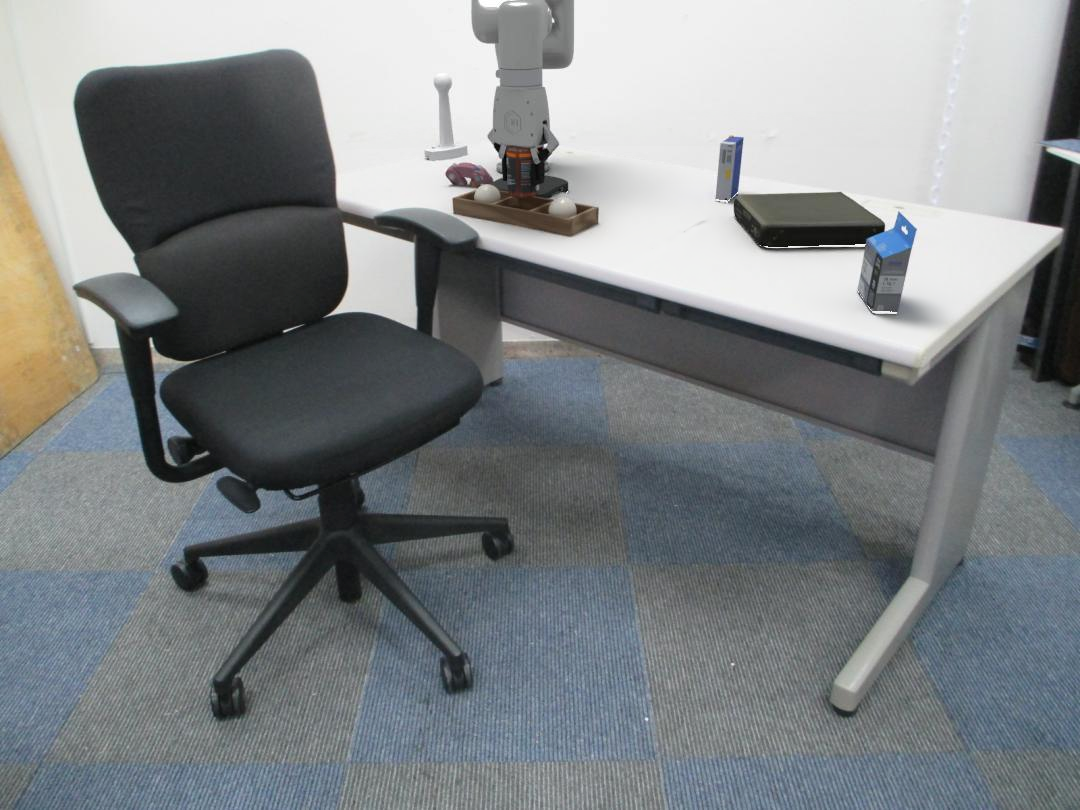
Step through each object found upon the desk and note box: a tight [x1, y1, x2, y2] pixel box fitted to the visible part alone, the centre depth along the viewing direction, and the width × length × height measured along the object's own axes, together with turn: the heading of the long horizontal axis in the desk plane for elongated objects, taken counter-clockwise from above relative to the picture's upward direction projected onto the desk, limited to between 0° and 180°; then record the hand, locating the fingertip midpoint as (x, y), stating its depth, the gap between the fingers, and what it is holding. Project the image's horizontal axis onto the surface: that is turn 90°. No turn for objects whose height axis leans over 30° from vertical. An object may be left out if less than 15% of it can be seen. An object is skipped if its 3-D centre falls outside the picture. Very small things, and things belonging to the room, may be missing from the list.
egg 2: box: [548, 196, 577, 218], centre depth 150 cm, size 5×5×5 cm
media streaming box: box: [490, 174, 569, 199], centre depth 175 cm, size 15×15×3 cm
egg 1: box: [474, 184, 501, 204], centre depth 159 cm, size 5×5×5 cm
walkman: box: [715, 135, 744, 201], centre depth 167 cm, size 8×3×12 cm, turn 153°
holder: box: [452, 189, 600, 238], centre depth 156 cm, size 10×27×4 cm, turn 55°
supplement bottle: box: [506, 146, 539, 198], centre depth 151 cm, size 6×6×11 cm
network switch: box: [733, 191, 886, 247], centre depth 148 cm, size 23×24×5 cm
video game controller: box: [444, 162, 495, 188], centre depth 179 cm, size 10×5×7 cm, turn 69°
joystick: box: [423, 72, 468, 162], centre depth 204 cm, size 11×8×20 cm
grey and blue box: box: [857, 210, 918, 313], centre depth 116 cm, size 9×4×12 cm, turn 175°
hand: (523, 180), depth 153 cm, fingers closed on supplement bottle, 6 cm apart
